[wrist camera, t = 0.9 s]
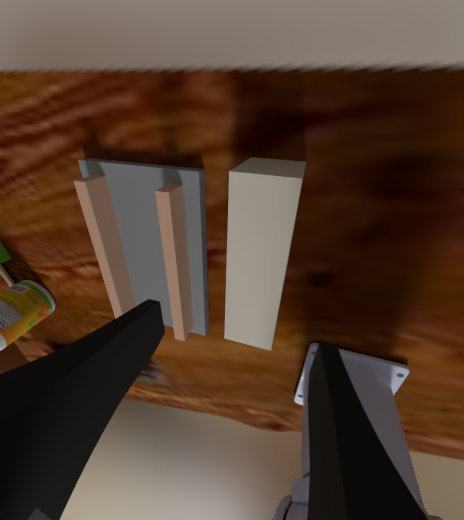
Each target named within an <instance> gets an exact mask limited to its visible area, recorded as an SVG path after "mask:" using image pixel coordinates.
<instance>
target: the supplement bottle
mask: <svg viewBox="0 0 464 520" xmlns="http://www.w3.org/2000/svg"><path fill="white" fill-rule="evenodd" d="M54 310H55V301H54V299H53V297H52V295H51V294H50V293H49V292H48V291H47V290H46V289H45V288H44V287H43V286H41V285H40V284H38V283H36V282H34V281H31V280H23V281H21V282H19V283H17V284H15V285H13V286H11V287H10V288H8V289H6V290H4V291H3V292H1V293H0V350H2V349H4V348H5V347H7V346H8V345H9V344H10V343H12V342H13V341H15V340H16V339H17V338H19V337H20V336H21V335H23V334H24V333H25V332H27V331H28V330H29V329H31V328H32V327H33V326H35V325H36V324H37V323H39V322H40V321H41V320H43V319H44V318H45V317H47V316H48V315H49V314H51V313H52V312H53V311H54Z"/></svg>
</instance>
